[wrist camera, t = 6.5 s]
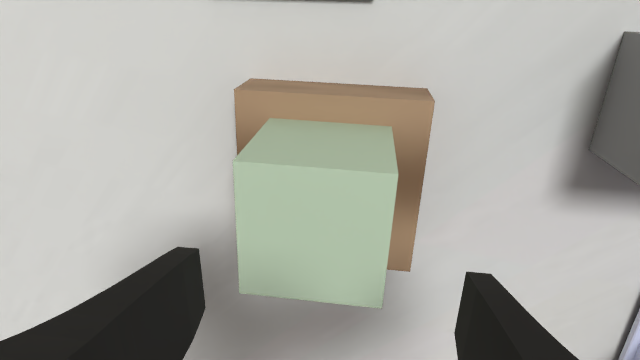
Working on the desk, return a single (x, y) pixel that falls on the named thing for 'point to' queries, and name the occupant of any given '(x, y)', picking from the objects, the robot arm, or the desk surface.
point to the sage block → (315, 211)
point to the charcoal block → (621, 112)
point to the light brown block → (354, 108)
